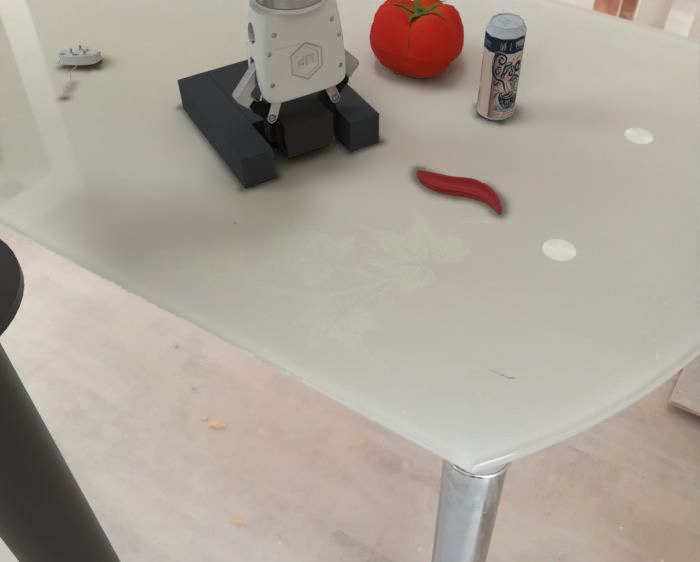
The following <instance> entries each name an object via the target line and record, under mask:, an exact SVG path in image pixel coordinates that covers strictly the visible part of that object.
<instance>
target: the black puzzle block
mask: <svg viewBox="0 0 700 562" xmlns="http://www.w3.org/2000/svg"><path fill="white" fill-rule="evenodd" d="M278 117H279V118H280V120H281V121H282V123H283V124H282V127H283V137H284V146H285V149H284V151H282V152H283V153H284V154H285V156H287V157H288V158H289V159H291V158H294V157H297V156H300V155H303V154H306V153H309V152H312V151H314V150H317V149H320V148H324V147H326V146H329V145H332V144H334V143H335V135H334V129H333V113H332V112H331V111H330V110H329V109H328V108H327V107H326V106H325V105H324V104H323V103H322V102H321V101H320V100H319V99H318V98H317V97H316V96H315V95H314V94H310V95H307V96H303V97H300V98H296V99H293V100H289V101H286V102H282V103H281V106H280V110H279V114H278Z"/></svg>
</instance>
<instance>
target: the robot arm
mask: <svg viewBox="0 0 700 562" xmlns="http://www.w3.org/2000/svg"><path fill="white" fill-rule="evenodd" d="M341 21H342V20H341V16H340V12H339V7H338V2H337V0H249V1H248V7H247V22H246V47H247V59H248V65H249V68H248V70H247V71H246V73H245V74H244V76H243V78H242V79H241V81H240V82H239V84H238V85H237V87H236V88H235V90H234V92H233V94H232V96H233V98H234V99H235V100H236V102H237V103H239V104H240V105H242V106H244V107H246V108H248V109H250V110H252V111H253V112H254V113H256V114H257V115H259V116H261V117H262V118H263V122H264V130H265V136H266V139H267V141H268V142H269V143H270V144H271V143H272V144H273V145H274V146H273V147H275V148H276V150H277V151H278V152H279V153H281V152H283V151H284V149H285V146H284V137H283V127H282V124H283V123H282V121H281V120H280V118H279V117H278V114H279V110H280V106H281V103H282V102H286V101H289V100H293V99H296V98H299V97H302V96H305V95H309V94H312V93H315V92H318V91H321V92H319V93H317V98H318V99H319V100H320V101H321V102H322V103H323V104H324V105H325V106H326V107H327V108H328V109H329V110H330V111H331V112H332V113H333V129H334V133H335V122H336V121H337V114H336V102H338V101H339V99H340V93H341V91H342V90H343V88H344V87H345V86H346V84H348V83H349V80H350V78H351V77H352V76H353V74H354V73H355V72H356V70H357V69H358V67H359V65H360V60H359V59H358V58H357V57H355V55H353V54H352V53H351V52H349V51H348V50H346V48H345V41H344V34H343V27H342V22H341ZM255 87H257V88H260V91H261V96H260V100H258V99H257V98H255V97H253V96H251V93H252V91H253V90H254V88H255Z"/></svg>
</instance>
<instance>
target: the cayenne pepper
mask: <svg viewBox="0 0 700 562" xmlns="http://www.w3.org/2000/svg"><path fill="white" fill-rule="evenodd" d="M416 176H417V179H418V180H419V182H420V183H421V184H422V185H423V186H425V187H427V188H428V189H430V190H432V191H435V192H438V193H441V194H445V195H450V196H456V197H463V198H469V199H474V200H478V201H479V202H483V203H485V204H487V205H489V206H490V207H491V208H492V209H493V210H494V211H495V212H496V213H497V214H498V215H501V214H502V210H503V208H502V203H501V200H500V197H499V196H498V194H497V193H496V192H495V190H493V188H492V187H491V186H489V185H488V184H487V183H484V182H482V181H480V180H478V179H477V178H472V177H465V176H452V175H446V174H443V173H438V172H432V171H427V170H421V169H417V170H416Z"/></svg>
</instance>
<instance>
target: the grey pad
mask: <svg viewBox="0 0 700 562" xmlns="http://www.w3.org/2000/svg"><path fill="white" fill-rule="evenodd" d="M248 68H249V65H248V58H247V59H244V60H240V61H237V62H233V63H230V64H227V65H223V66H220V67H218V68H213V69H210V70H207V71H203V72H200V73H196V74H193V75H189V76H186V77H182V78H179V79H177V85H178V90H179V94H180V95H179V96H180V99H181V105H182V109H184V111H185V112H186V113H187V115H188V117H190V119H191V120H192V121H193V123H194V124H195V126H197V128H198V129H199V130H200V132H201V133H202V134H203V135H204V136H205V138H206V140H208V142H209V143H210V144H211V146H212V147H213V148H214V149H215V151H216V153H217V154H218V155H219V156H220V157H221V159H222V160H223V162H225V164H226V165H227V167H228V168H229V170H231V172H232V173H233V174H234V176H235V177H236V178H237V179H238V181H239V182H240V184H242V186H243V187H244V188H245V189H249V188H250V187H254V186H258V185H260V184H262V183H265V182H269V181H272V180H274V179H277V174H276V173H277V172H276V171H277V170H276V163H275V154H274V148H273V147H275V146H274V145H273V144H272V143H271V144H270V143H269V142H268V141H267V139H266V136H265V130H264V122H263V118H262V117H261V116H259V115H257V114H256V113H254V112H253V111H252V110H250V109H248V108H246V107H244V106H242V105H240V104H239V103H237V102H236V100H235V99H234V98H233V96H232V94H233V92H234V90H235V88H236V87H237V85H238V84H239V82H240V81H241V79H242V78H243V76H244V74H245V73H246V71H247V70H248ZM319 92H321V91H318V92H315V93H312V94H314V95H315V96H316V97H317V93H319ZM309 95H310V94H309ZM251 96H253V97H255V98H257V99H258V100H260V96H261V91H260V88H257V87H255V88H254V90H253V91H252V93H251ZM305 96H307V95H305ZM302 97H303V96H302ZM299 98H300V97H299ZM336 114H337V121H336V122H335V133H334V137H335V138H337V139H338V140H339V141H340V142H341V143H342V144H343V146H344V147H346V149H347V150H348V151H349V152H350V153H351V152H355V151H359V150H360V149H363V148H366V147H370V146H373V145H375V144H377V143H380V113H379V111H377V110H376V109H375V108H374V107H373V106H372V105H371V104H370V103H368V101H366V100H365V99H364V98H363V97H362V96H361V95H360V94H359V93H358V92H357V91H356V90H355V89H354V88H352V87H351V86H350V85H349V84H348V83H347V84H346V86H345V87H344V88H343V90H342V91H341V93H340V99H339V101H338V102H336Z"/></svg>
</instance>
